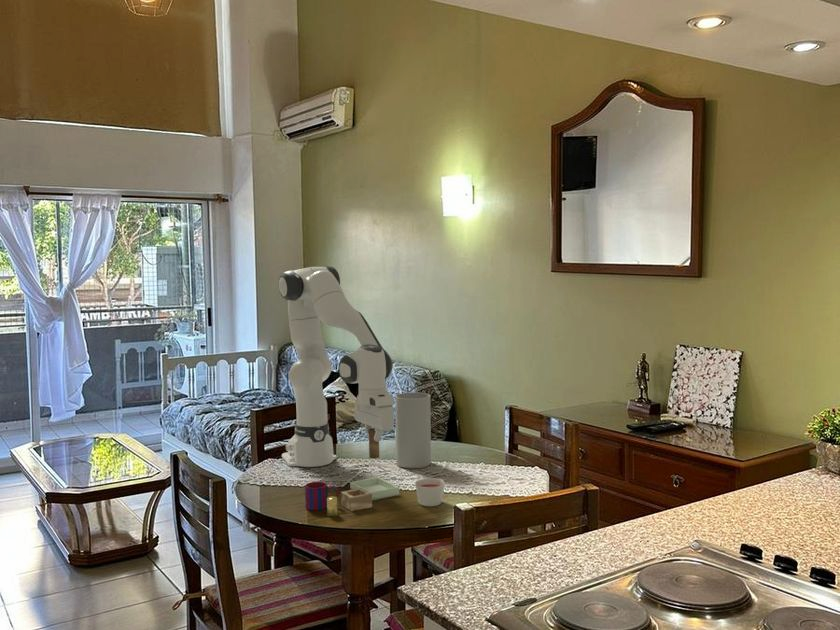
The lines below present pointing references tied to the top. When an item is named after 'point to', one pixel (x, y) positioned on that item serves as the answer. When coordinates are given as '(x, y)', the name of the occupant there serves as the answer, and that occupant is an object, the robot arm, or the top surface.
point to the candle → (430, 491)
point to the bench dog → (332, 506)
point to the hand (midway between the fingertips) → (373, 439)
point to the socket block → (356, 499)
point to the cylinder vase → (413, 430)
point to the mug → (317, 495)
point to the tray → (376, 487)
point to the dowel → (373, 444)
